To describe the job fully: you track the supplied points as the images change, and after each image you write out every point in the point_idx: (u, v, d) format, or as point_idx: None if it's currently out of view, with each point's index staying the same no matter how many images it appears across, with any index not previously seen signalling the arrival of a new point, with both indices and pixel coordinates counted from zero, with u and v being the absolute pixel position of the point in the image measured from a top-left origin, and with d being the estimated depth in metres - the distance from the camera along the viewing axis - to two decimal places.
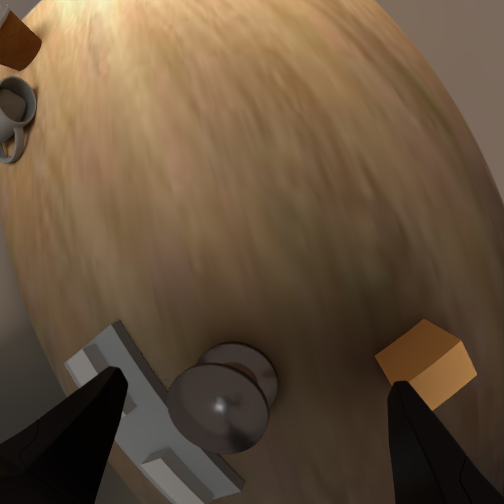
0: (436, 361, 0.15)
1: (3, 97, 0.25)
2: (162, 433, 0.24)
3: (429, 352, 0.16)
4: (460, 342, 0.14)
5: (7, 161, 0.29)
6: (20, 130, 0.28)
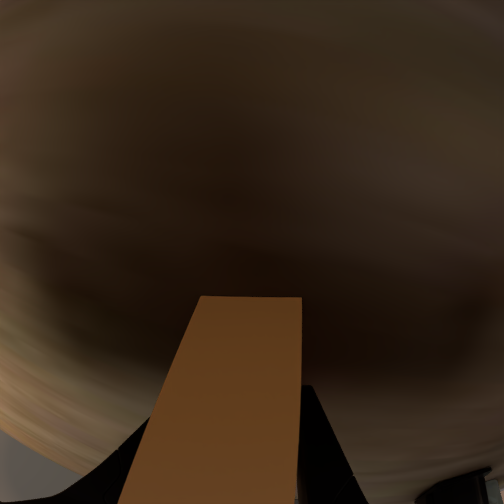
0: None
1: None
2: None
3: None
4: None
5: None
6: None
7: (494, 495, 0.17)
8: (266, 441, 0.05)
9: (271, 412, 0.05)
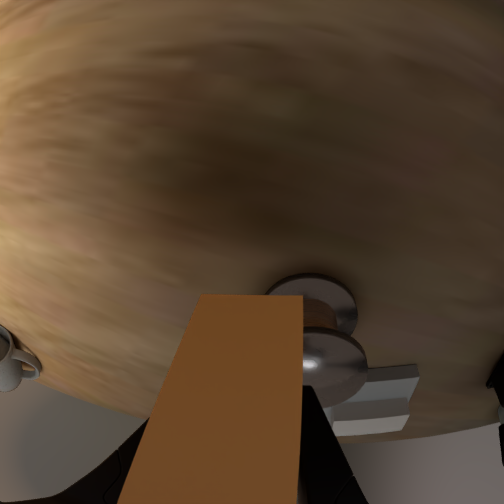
0: None
1: None
2: None
3: None
4: None
5: (38, 373, 0.32)
6: (16, 352, 0.30)
7: None
8: (268, 439, 0.05)
9: (273, 411, 0.05)
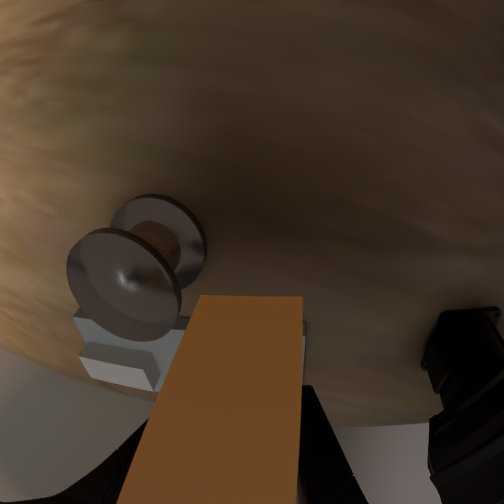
0: None
1: None
2: None
3: None
4: None
5: None
6: None
7: None
8: (267, 441, 0.05)
9: (272, 412, 0.05)
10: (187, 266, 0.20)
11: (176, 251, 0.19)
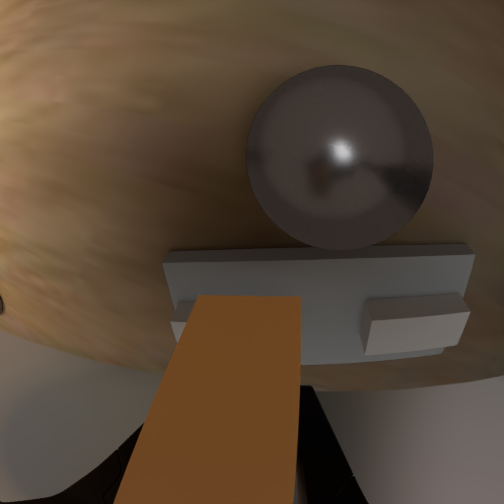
0: None
1: None
2: (342, 294, 0.18)
3: None
4: None
5: None
6: None
7: None
8: (264, 442, 0.05)
9: (269, 413, 0.05)
10: None
11: None
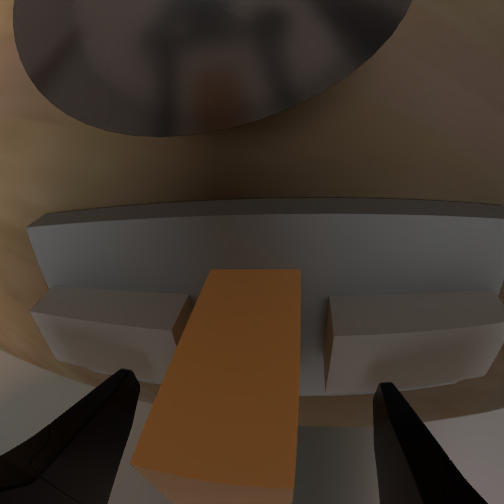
0: (163, 493, 0.05)
1: None
2: None
3: None
4: (134, 467, 0.04)
5: None
6: None
7: None
8: (271, 381, 0.06)
9: (275, 358, 0.07)
10: None
11: None
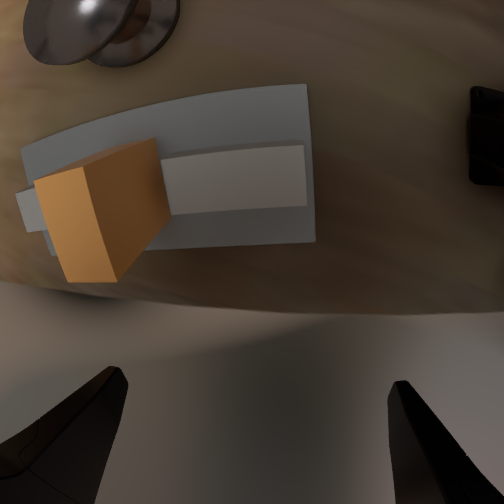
0: (46, 222, 0.11)
1: None
2: None
3: None
4: (34, 182, 0.10)
5: None
6: None
7: None
8: (104, 155, 0.12)
9: (111, 152, 0.13)
10: (156, 22, 0.13)
11: (146, 0, 0.12)
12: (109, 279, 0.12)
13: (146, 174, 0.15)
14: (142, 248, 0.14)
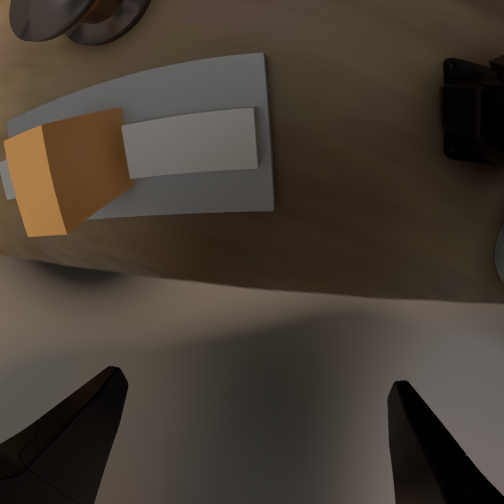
0: (12, 179, 0.11)
1: None
2: None
3: None
4: (4, 143, 0.10)
5: None
6: None
7: None
8: None
9: None
10: (130, 2, 0.13)
11: None
12: (60, 232, 0.12)
13: (109, 140, 0.15)
14: (98, 208, 0.14)
